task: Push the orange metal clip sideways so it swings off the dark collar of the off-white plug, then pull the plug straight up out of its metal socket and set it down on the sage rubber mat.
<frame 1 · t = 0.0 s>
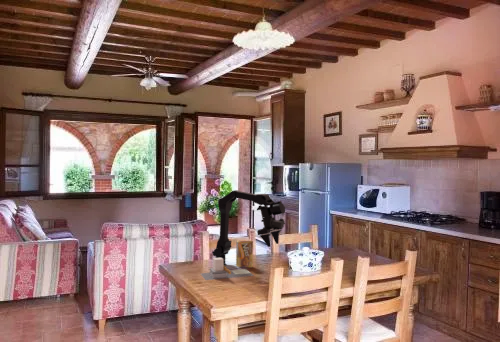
hand: (273, 245, 232), 15 cm above the table, tool pointing down, fingers open, 9 cm apart
candy box: (244, 267, 246), on the table
plug: (218, 275, 224), point 1 cm above the table, touching socket board
clip: (224, 268, 223), point 5 cm above the table, hinge at 0.0°
socket board: (226, 276, 226), on the table
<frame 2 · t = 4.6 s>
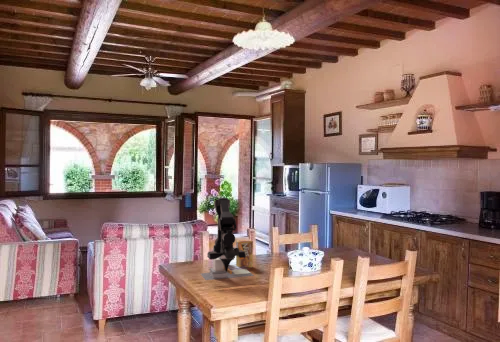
hand: (226, 271, 218), 5 cm above the table, tool pointing down, fingers closed
clip: (225, 268, 223), point 5 cm above the table, hinge at 1.8°, touching gripper
everything else where it was.
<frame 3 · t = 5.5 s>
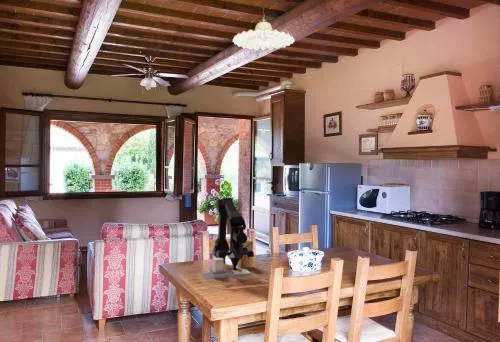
hand: (234, 270, 220), 5 cm above the table, tool pointing down, fingers closed
clip: (230, 267, 224), point 5 cm above the table, hinge at 21.6°, touching gripper
everything else where it was.
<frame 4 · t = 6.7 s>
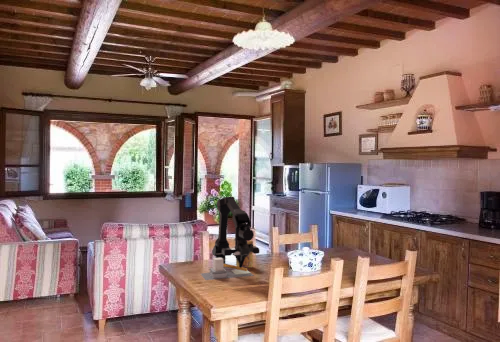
hand: (240, 267, 220), 6 cm above the table, tool pointing down, fingers closed
clip: (232, 266, 226), point 5 cm above the table, hinge at 32.7°
everything else where it was.
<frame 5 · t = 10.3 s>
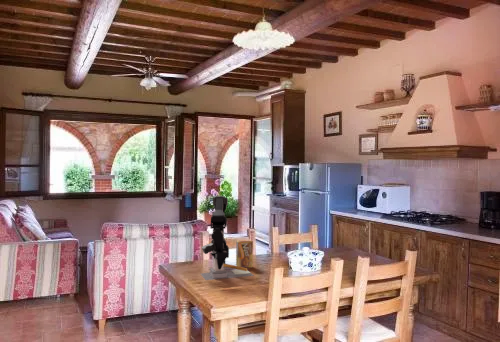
hand: (218, 268, 224), 5 cm above the table, tool pointing down, fingers closed on plug, 4 cm apart
plug: (218, 275, 224), point 1 cm above the table, touching gripper, socket board
everything else where it was.
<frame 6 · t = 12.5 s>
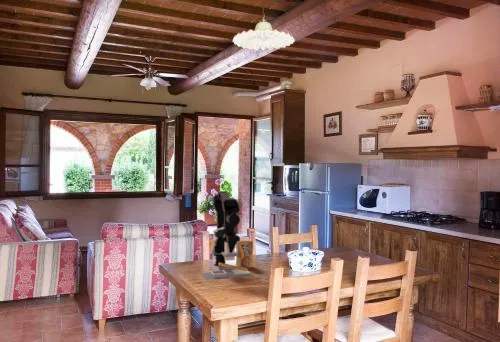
hand: (229, 251, 227), 13 cm above the table, tool pointing down, fingers closed on plug, 4 cm apart
plug: (229, 259, 227), point 9 cm above the table, touching gripper
everything else where it was.
when the fingers open (6 cm above the table, at t = 14.9 s): plug drops 1 cm, resting on socket board.
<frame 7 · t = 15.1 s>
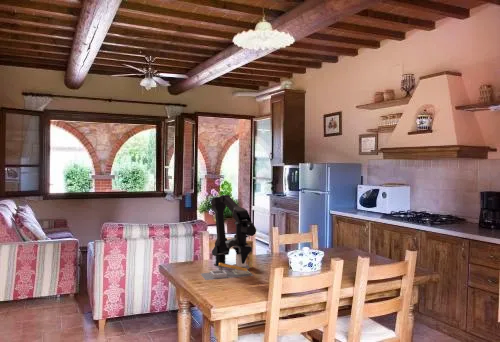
hand: (241, 262, 231), 6 cm above the table, tool pointing down, fingers open, 7 cm apart
plug: (241, 271, 231), point 1 cm above the table, touching socket board
everything else where it was.
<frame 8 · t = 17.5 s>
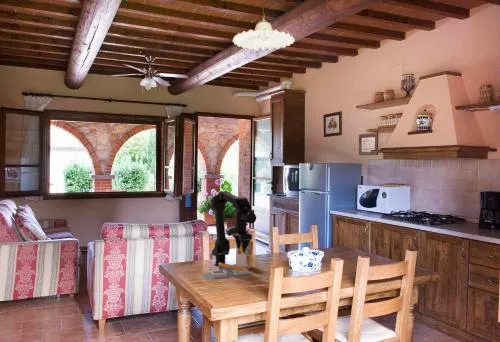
hand: (241, 250, 231), 13 cm above the table, tool pointing down, fingers open, 9 cm apart
nothing on the table moved.
at the end: clip at +33° (first picture: +0°); plug 0.0 cm from the target spot, point 1.3 cm above the table; plug tilted 0° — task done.
